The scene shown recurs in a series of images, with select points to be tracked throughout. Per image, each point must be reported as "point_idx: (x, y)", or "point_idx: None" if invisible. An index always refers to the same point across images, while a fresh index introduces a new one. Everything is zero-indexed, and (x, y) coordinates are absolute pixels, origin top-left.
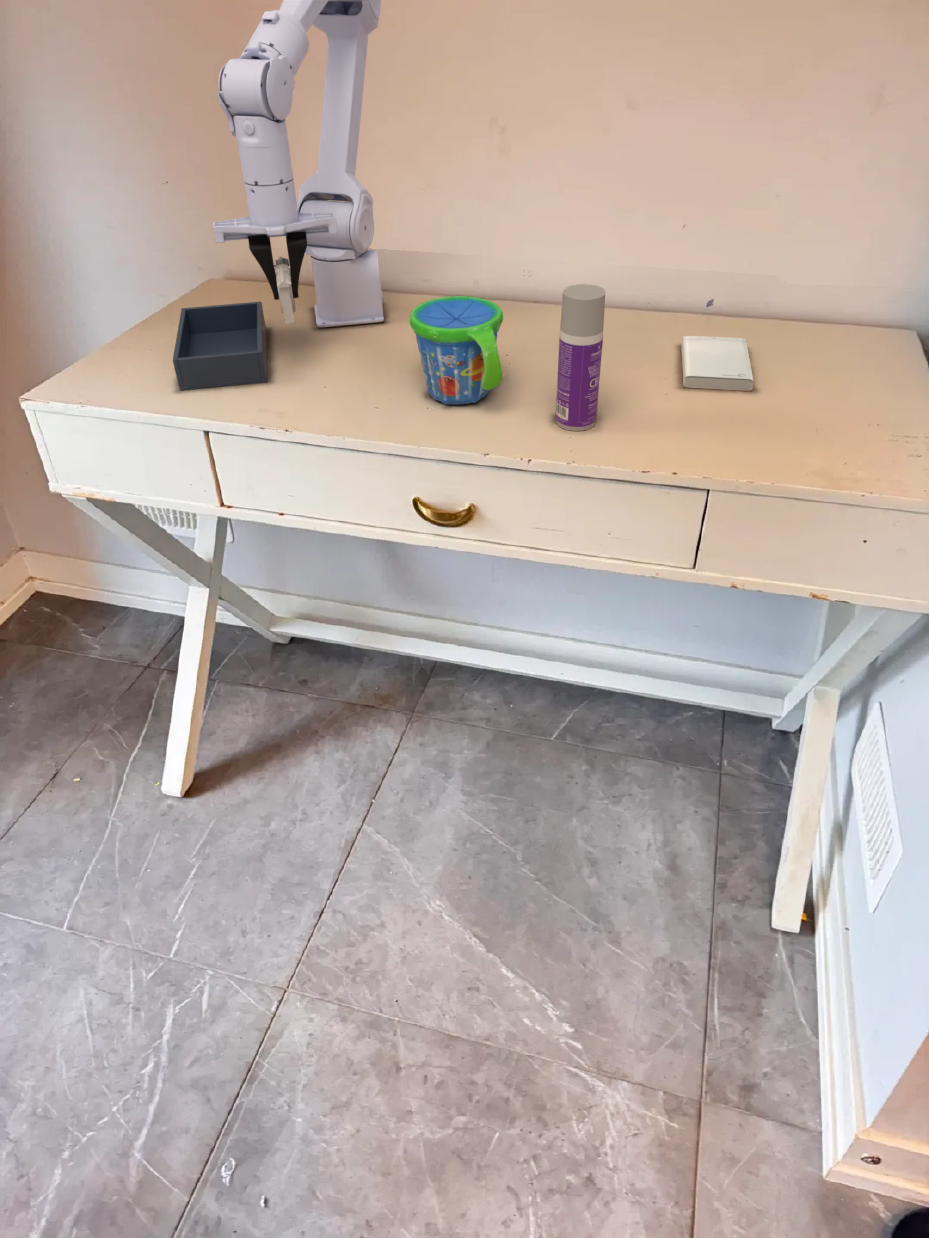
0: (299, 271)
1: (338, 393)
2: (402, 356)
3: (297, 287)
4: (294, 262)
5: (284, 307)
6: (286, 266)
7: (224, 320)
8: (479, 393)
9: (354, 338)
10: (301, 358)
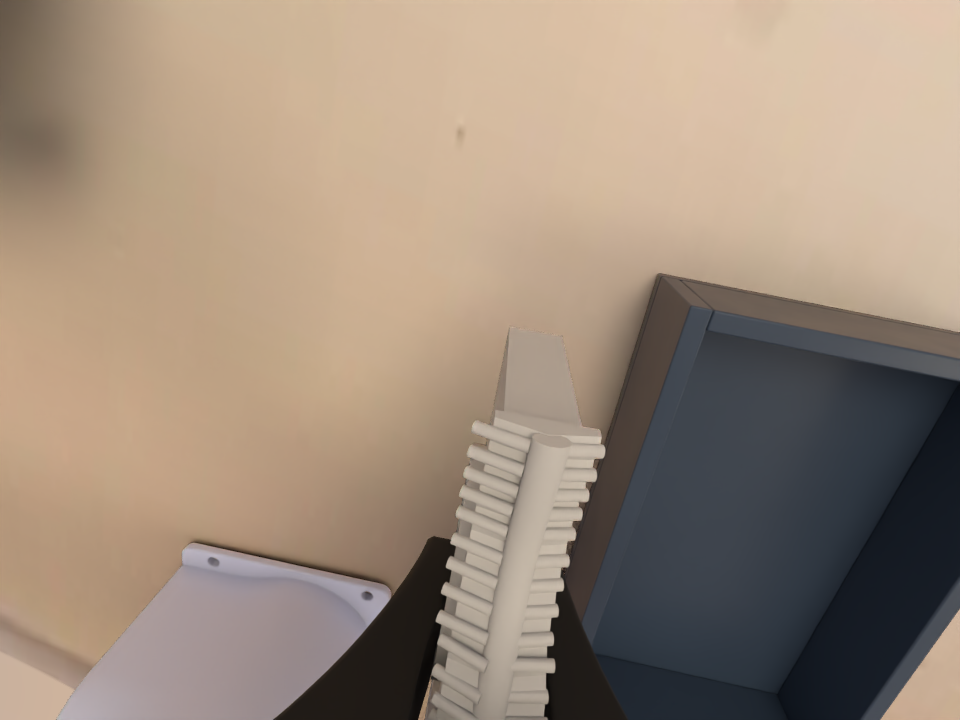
0: (355, 645)
1: (421, 51)
2: (149, 284)
3: (414, 572)
4: (360, 716)
5: (557, 371)
6: (441, 705)
7: (675, 703)
8: None
9: (292, 480)
10: (487, 413)
